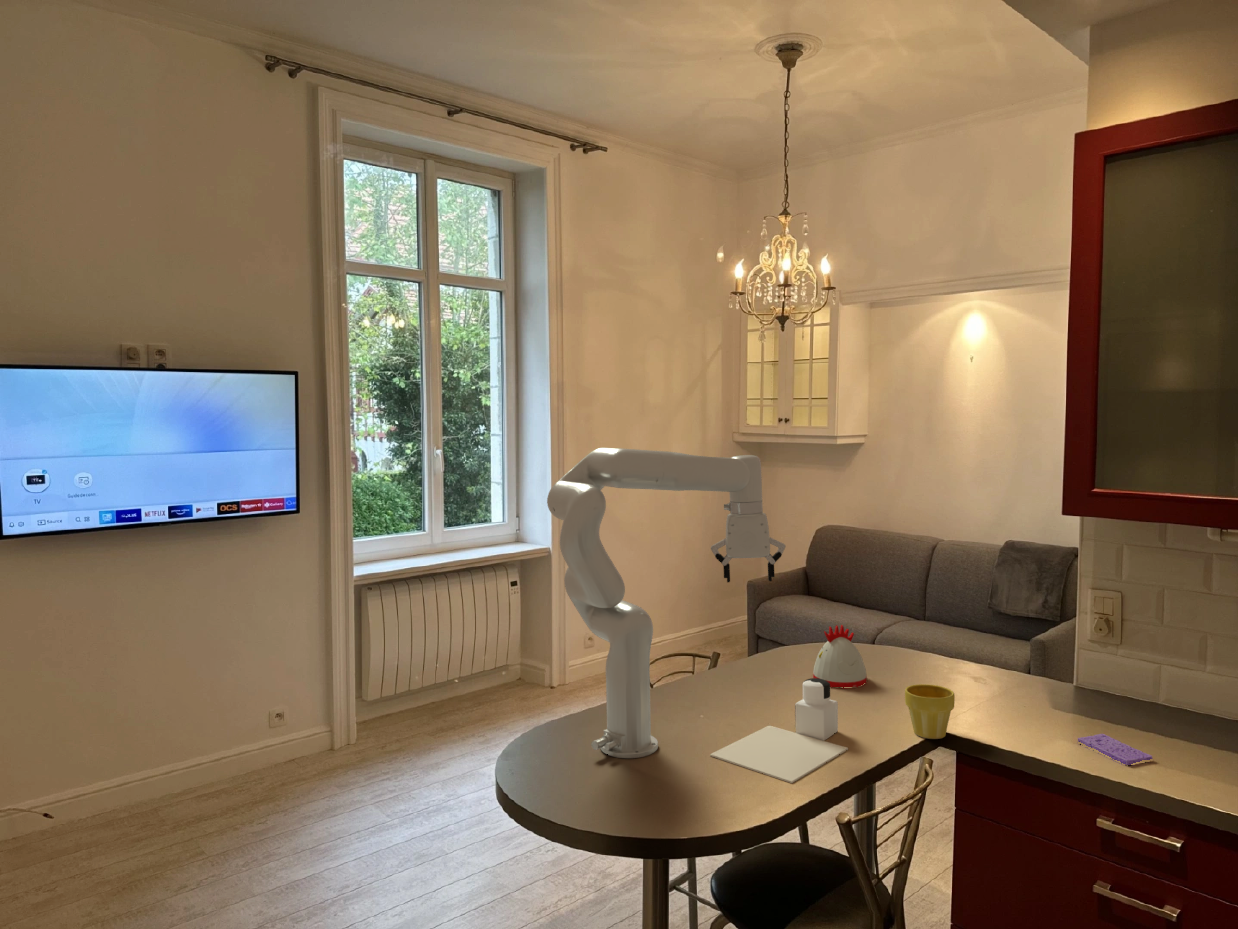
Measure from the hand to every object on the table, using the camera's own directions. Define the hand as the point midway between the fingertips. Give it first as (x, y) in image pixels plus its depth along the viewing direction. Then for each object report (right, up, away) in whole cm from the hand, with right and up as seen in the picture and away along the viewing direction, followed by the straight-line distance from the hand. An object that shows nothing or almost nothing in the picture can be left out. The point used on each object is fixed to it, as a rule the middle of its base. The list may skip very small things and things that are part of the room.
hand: (749, 580), depth 198 cm
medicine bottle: (+14, -33, -8) cm, 37 cm away
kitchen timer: (+29, -31, +29) cm, 51 cm away
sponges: (+73, -34, -22) cm, 83 cm away
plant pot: (+39, -33, -10) cm, 52 cm away
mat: (+4, -34, -19) cm, 39 cm away
